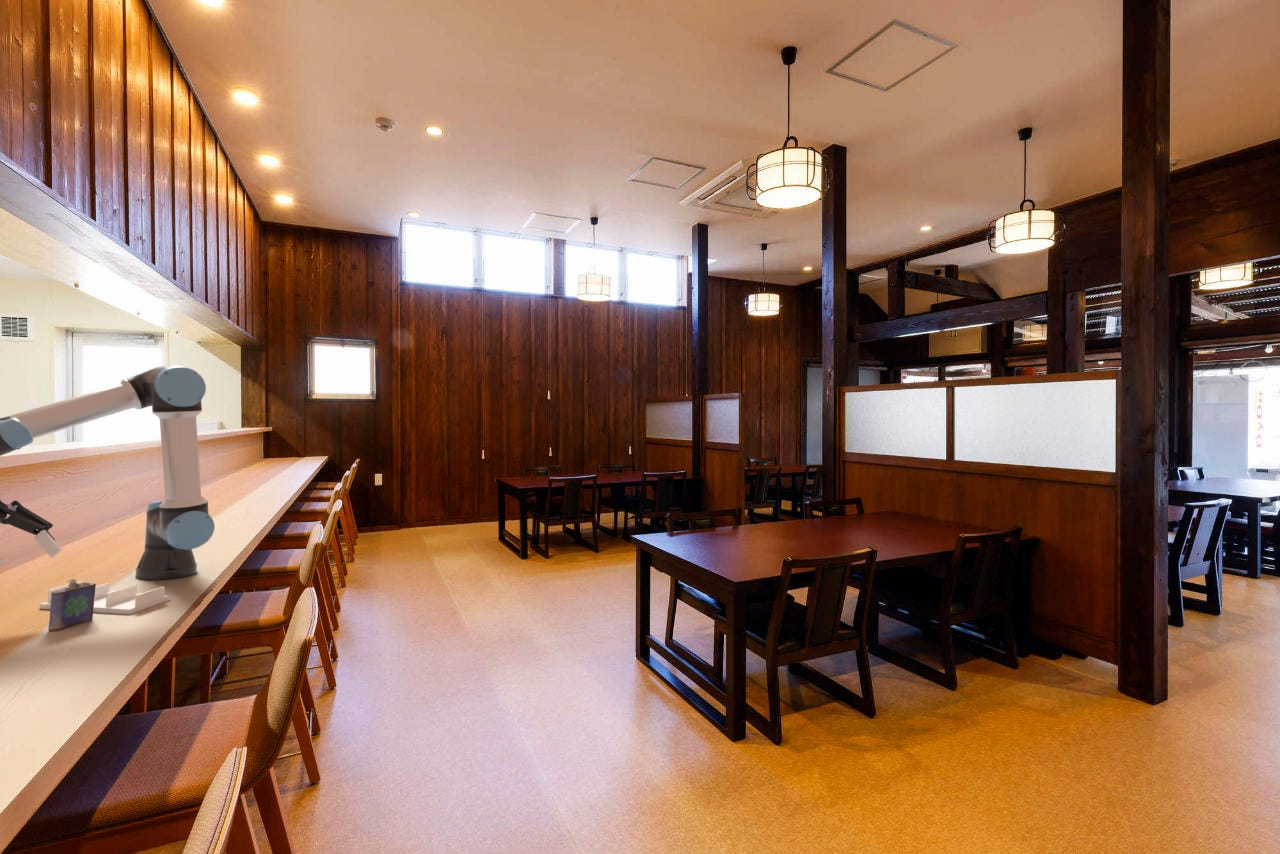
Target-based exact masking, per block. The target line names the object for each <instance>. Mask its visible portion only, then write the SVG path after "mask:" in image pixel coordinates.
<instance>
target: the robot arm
mask: <svg viewBox="0 0 1280 854" xmlns="http://www.w3.org/2000/svg"><path fill="white" fill-rule="evenodd" d="M206 389H207V386H206V383H205V379H204V378H203V377H202V376H201V374H200V373H198V372H197V371H196V370H194V369H193V368H190V367H187V366H183V365H176V364H175V365H163V366H156V367H154V368H152V369H148V370H147V371H144V372H142V373H139V374H136V375H133V376H130V377H126V378H122V380H121V381H120V383H118V384H115V385H111V386H108V387H105V388H102V389H98V390H94V391H91V392H87V393H84V394H79V395H77V396H73V397H70V398H67V399H63V400H59V401H55V402H52V403H49V404H48V403H47V404H45V405H41V406H38V407H34V408H32V409H28V410H23V411H21V412H17V413H13V414H10V415H8V416H4V417H0V457H1V456H3V455H7V454H9V453H12V452H14V451H17V450H21V449H22V448H23V447H26V446H28V445H31V444H33V442H34V439H37V438H40V437H43V436H47V435H49V434H50V435H51V434H53V433H56V432H59V431H63V430H66V429H68V428H72V427H75V426H79V425H82V424H86V423H89V422H92V421H95V420H98V419H101V418H104V417H107V416H111V415H114V414H117V413H120V412H124V411H127V410H131V409H135V410H142V409H145V408H148V407H151V408H152V409H151V410H152V411H151V412H152V414H154V415H155V416H156V417H158V418H159V428H160V441H161V442H160V443H161V456H162V458H161V459H162V469H163V471H162V472H163V483H164V484H163V485H164V500H162V501H161V500H160V501H158V500H157V501H151V502H150V503H148V506H147V508H146V509H147V510H146V513H145V514H146V524H145V538H144V541H145V542H144V551H143V553H142V555H141V557H140V560H139V562H138V564H137V566H136V568H135V577H136V578H137V579H141V580H170V579H176V578H184V577H188V576H191V575H194V574H195V573H197V571H198V569H197V568H198V564H197V562H196V557H195V556H194V552H193V550H194V549H195V550H196V549H197V548H200V547H201V546H203V545H205V544H206V543H208V541H210V539H211V538H212V537H213V535H214V533H215V529H216V528H215V527H216V526H215V522H214V519H213V518H212V516H211V515H210V514H209V513H210V512H209V503H208V499H206V498H205V497H204V496H202V490H201V487H202V486H201V474H200V470H201V469H200V459H199V457H200V455H199V442H198V428H197V427H198V425H197V416H199V415H200V413H202V411H203V410H202V400H203V398H204V397H205V395H206V391H207V390H206ZM8 515H9V516H8ZM0 524H2V525H9V526H12V527H15V528H17V529H20V530H22V531H24V532H27V533H29V534H32V535H35V536H34V537H33V539H34V540H35V541H36V542H37V543H38V544H39V545H40V546H41V548H42V549H43V550H44V551H45V552H46V554H48V556H49V557H50V558H55V557H56V556H57V555H58V554H60V552H61V551H63V548H61V546H60V545H59V544H58V542H56V539H55V538H54V537H53V535H52V534H51V533H50V531H49V530H50V529H52V528H53V526H54V524H53V523H51V522H50V521H48V520H47V519H45V518H43V517H41V516H40V515H38V514H37V513H34V512H33V511H32V510H30V509H29V508H26V507H25V506H23V505H22V504H21V503H20V502H19V501H17V500H13V501H12V502H11V503H7V504H6V503H5V502H3V501H1V499H0ZM4 563H5V560H4V558H2V556H0V566H1V565H3V564H4Z"/></svg>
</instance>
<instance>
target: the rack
mask: <svg viewBox="0 0 1280 854" xmlns="http://www.w3.org/2000/svg"><path fill="white" fill-rule="evenodd" d="M76 583H77V584H80V583H83V580H80V581H77V582H76ZM69 584H70V583H69ZM69 584H66V585H65V584H64V585H61V586H58V587H53V588H50V589H48V591H47V601H45V602H42V603H39V609H40V610H42V609H43V610H50V607H51V593H52V592H53V591H56V590H60V589H64V588H68V587H69V586H68V585H69ZM110 586H111V583H110V582H106V583H104V584H100V585H96V587H95V597H94V607H93V613H99V614H100V613H103V614H117V615H119V614H120V615H132V614H134V613H137V612H140V611H142V610H145V609H148V608H151V607H154V606H157V605H159V604H161V603H164V602H165V603H166V602H167V601H170V596H171V595H168V594H167V595H166V594H165V587H166V586H164V585H163V586H160V587H157V588H154V589H151V590H148V591H145V592H142V593H138V584H133V585H130V586H129V585H128V586H126V587H124V588H120V589H116V590H113V591H110V589H111V588H110Z"/></svg>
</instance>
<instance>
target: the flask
mask: <svg viewBox="0 0 1280 854" xmlns="http://www.w3.org/2000/svg"><path fill="white" fill-rule="evenodd" d="M76 582H78V580H76V579H74V578H72V579H68V580H67V583H69V585H68V584H67V585H68V586H69V587H68V588H64V589H60V590H56V591H53V592H52V593H51V607H50V609H49V622H48V631H49V632H56V631H62V630H65V629H68V628H72V627H73V628H74V627H77V625H81V624H86V623H88V622H92V621H93V617H94V612H93V607H94V597H95V587H96V586H97V584H96V583H94V582H84V581H83V582H82V583H80V584H77V583H76Z"/></svg>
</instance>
